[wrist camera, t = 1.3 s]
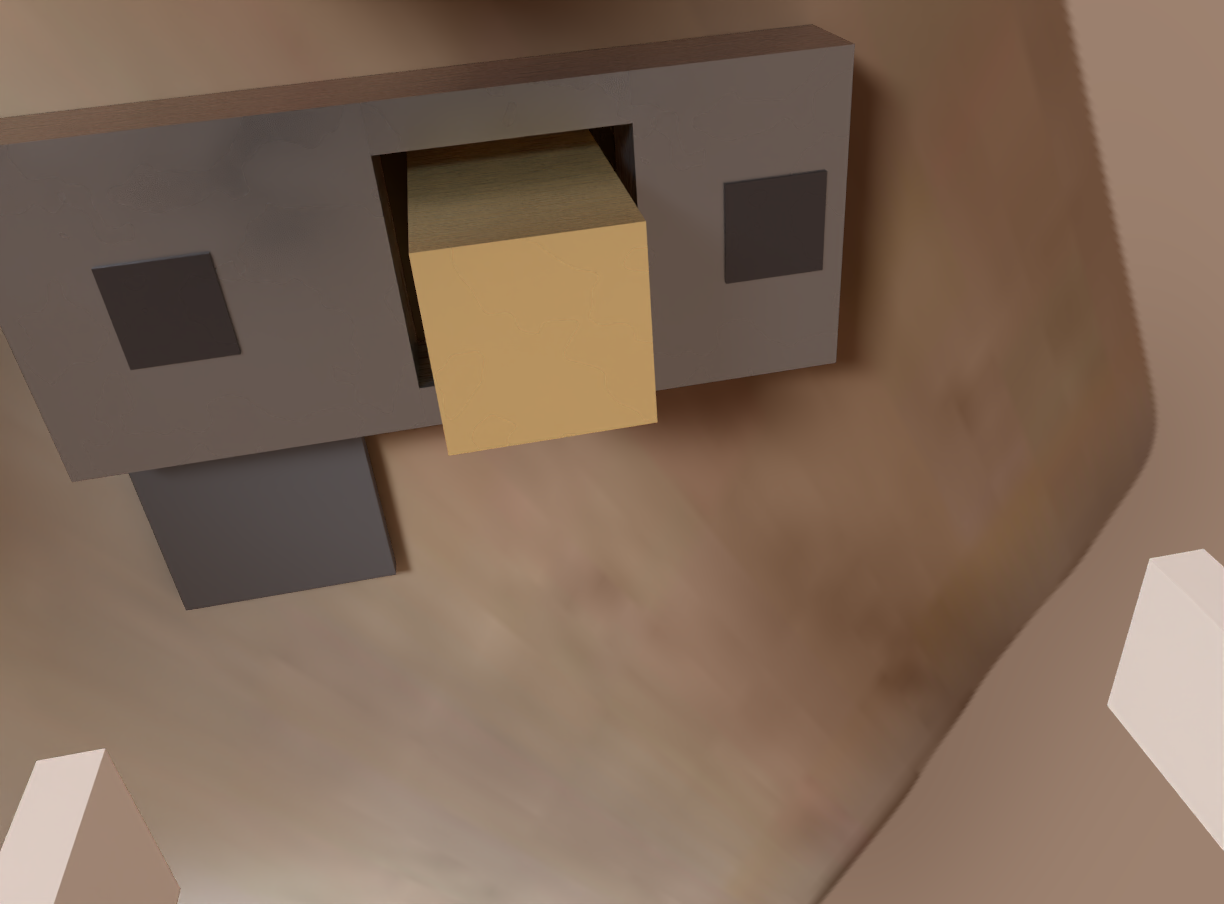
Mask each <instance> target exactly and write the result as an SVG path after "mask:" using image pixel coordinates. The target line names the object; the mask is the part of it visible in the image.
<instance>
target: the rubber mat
mask: <svg viewBox="0 0 1224 904" xmlns="http://www.w3.org/2000/svg"><path fill="white" fill-rule="evenodd" d="M129 475H130V478H131V480H132V482H133V485H134V487H135V490H136V492H137V494H138V497H139V499H140V502H141V504H142V506H143V509H144V511H145V514H146V516H147V518H148V521H149V523H150V525H151V528H152V530H153V533H154V535H155V537H156V540H157V542H158V545H159V547H160V549H161V552H162V554H163V557H164V559H165V561H166V564H167V566H168V568H169V571H170V573H171V576H172V578H173V580H174V583H175V585H176V588H177V590H178V592H179V595H180V597H181V600H182V602H183V604H184V607H185V609H186V610H192V609H198V608H204V607H210V606H215V605H221V604H227V603H233V602H239V601H244V600H250V599H256V598H262V597H268V596H273V595H279V594H285V593H291V592H297V591H302V590H308V589H314V588H320V587H326V586H331V585H337V584H343V583H349V582H355V581H360V580H366V579H372V578H378V577H384V576H390V575H395V574H396V561H395V557H394V553H393V549H392V545H391V541H390V537H389V533H388V529H387V525H386V522H385V518H384V514H383V510H382V506H381V502H380V498H379V494H378V490H377V486H376V482H375V478H374V474H373V470H372V466H371V462H370V458H369V454H368V450H367V446H366V442H365V438H364V436H363V437H357V438H350V439H344V440H337V441H331V442H324V443H318V444H312V445H305V446H299V447H292V448H286V449H280V450H273V451H267V452H260V453H254V454H248V455H241V456H235V457H228V458H222V459H216V460H209V461H203V462H196V463H190V464H183V465H177V466H171V467H164V468H158V469H151V470H145V471H139V472H132V473H129Z"/></svg>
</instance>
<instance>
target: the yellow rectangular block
mask: <svg viewBox="0 0 1224 904" xmlns="http://www.w3.org/2000/svg"><path fill="white" fill-rule="evenodd" d="M407 185H408V242H409V258H410V263H411V268H412V273H413V278H414V283H415V288H416V293H417V298H418V303H419V308H420V313H421V318H422V323H423V328H424V333H425V338H426V343H427V348H428V353H429V359H430V364H431V369H432V374H433V379H434V384H435V389H436V394H437V399H438V404H439V409H440V414H441V419H442V424H443V429H444V434H445V439H446V444H447V449H448V454H449V456H450V455H456V454H462V453H469V452H475V451H481V450H487V449H494V448H500V447H506V446H513V445H519V444H525V443H531V442H538V441H544V440H550V439H556V438H563V437H569V436H575V435H581V434H588V433H594V432H600V431H607V430H613V429H619V428H625V427H632V426H638V425H644V424H650V423H657V407H656V389H655V372H654V354H653V336H652V319H651V301H650V283H649V266H648V248H647V230H646V220H645V219H644V217H643V216H642V214H641V213H640V211H639V209H638V208H637V206H636V205H635V203H634V201H633V200H632V198H631V197H630V195H629V193H628V192H627V190H626V189H625V187H624V185H623V184H622V182H621V181H620V179H619V178H618V176H617V174H616V173H615V171H614V170H613V168H612V166H611V165H610V163H609V162H608V160H607V158H606V157H605V155H604V154H603V152H602V151H601V149H600V147H599V146H598V144H597V143H596V141H595V139H594V138H593V136H592V135H591V133H590V131H589V130H588V129H581V130H573V131H565V132H557V133H549V134H541V135H533V136H525V137H517V138H509V139H501V140H493V141H485V142H477V143H469V144H461V145H453V146H445V147H437V148H428V149H420V150H412V151H407Z"/></svg>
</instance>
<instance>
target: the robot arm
mask: <svg viewBox="0 0 1224 904" xmlns="http://www.w3.org/2000/svg"><path fill="white" fill-rule="evenodd" d="M1107 706H1108V707H1109V709H1110V710H1111V711H1112V712H1113V714H1114V715H1115V716H1116V717H1117V718H1118V720H1119V721H1120V722H1121V723H1122V725H1123V726H1124V727H1125V728H1126V730H1127V731H1128V732H1129V733H1130V735H1131V736H1132V737H1133V738H1134V740H1135V741H1136V742H1137V743H1138V745H1139V746H1140V747H1141V748H1142V750H1143V751H1144V752H1145V753H1146V755H1147V756H1148V757H1149V758H1150V760H1151V761H1152V762H1153V763H1154V765H1155V766H1156V767H1157V768H1158V770H1159V771H1160V772H1161V773H1162V775H1163V776H1164V777H1165V778H1166V780H1167V781H1168V782H1169V783H1170V785H1171V786H1172V787H1173V788H1174V790H1175V791H1176V792H1177V793H1178V795H1179V796H1180V797H1181V798H1182V800H1183V801H1184V802H1185V803H1186V805H1187V806H1188V807H1189V808H1190V810H1191V811H1192V812H1193V813H1194V814H1195V816H1196V817H1197V818H1198V820H1199V821H1200V822H1201V823H1202V824H1203V826H1204V827H1205V828H1206V830H1207V831H1208V832H1209V833H1210V835H1211V836H1212V837H1213V838H1214V840H1215V841H1216V842H1217V843H1218V845H1219V846H1220V847H1221V848H1222V850H1223V851H1224V567H1223V566H1222V565H1221V564H1220V563H1219V562H1218V561H1217V560H1216V559H1214V558H1213V557H1212V556H1211V555H1210V554H1209V553H1208V552H1207V551H1206V550H1204V549H1200V550H1195V551H1189V552H1183V553H1178V554H1172V555H1167V556H1161V557H1156V558H1150V559H1149V563H1148V566H1147V570H1146V573H1145V577H1144V580H1143V584H1142V587H1141V590H1140V594H1139V597H1138V601H1137V604H1136V607H1135V611H1134V614H1133V618H1132V621H1131V625H1130V628H1129V632H1128V635H1127V638H1126V642H1125V645H1124V649H1123V652H1122V656H1121V659H1120V663H1119V666H1118V670H1117V673H1116V677H1115V680H1114V683H1113V687H1112V690H1111V693H1110V697H1109V700H1108V704H1107ZM179 892H180V887H179V885H178V883H177V881H176V880H175V878H174V876H173V874H172V872H171V870H170V868H169V866H168V865H167V863H166V861H165V859H164V857H163V855H162V853H161V851H160V850H159V848H158V846H157V844H156V842H155V840H154V838H153V836H152V835H151V833H150V831H149V829H148V827H147V825H146V823H145V821H144V820H143V818H142V816H141V814H140V812H139V810H138V808H137V806H136V805H135V803H134V801H133V799H132V797H131V795H130V793H129V791H128V790H127V788H126V786H125V784H124V782H123V780H122V778H121V776H120V775H119V773H118V771H117V769H116V767H115V765H114V763H113V761H112V760H111V758H110V756H109V754H108V752H107V750H106V748H104V749H98V750H93V751H87V752H82V753H76V754H71V755H65V756H60V757H54V758H49V759H43V760H38V761H36V763H35V766H34V768H33V771H32V773H31V776H30V778H29V781H28V783H27V786H26V788H25V791H24V793H23V796H22V798H21V801H20V803H19V806H18V808H17V811H16V813H15V816H14V818H13V821H12V823H11V826H10V828H9V831H8V833H7V836H6V838H5V841H4V843H3V846H2V848H1V851H0V904H177V902H178V897H179Z"/></svg>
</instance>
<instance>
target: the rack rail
mask: <svg viewBox="0 0 1224 904" xmlns="http://www.w3.org/2000/svg"><path fill="white" fill-rule="evenodd" d="M854 47H855V44H853V43H851V42H849V41H847V40H845V39H843V38H841V37H838V36H836V35H834V34H832V33H830V32H828V31H826V30H823V29H821V28H819V27H817V26H815V25H813V24H812V25H803V26H795V27H786V28H777V29H769V30H760V31H751V32H743V33H734V34H725V35H717V36H708V37H699V38H691V39H682V40H673V41H665V42H656V43H647V44H639V45H630V46H621V47H613V48H604V49H595V50H587V51H578V52H569V53H561V54H552V55H543V56H535V57H526V58H517V59H509V60H500V61H491V62H483V63H474V64H465V65H457V66H448V67H439V68H431V69H422V70H413V71H405V72H396V73H387V74H379V75H370V76H361V77H353V78H344V79H335V80H327V81H318V82H309V83H301V84H292V85H283V86H275V87H266V88H257V89H249V90H240V91H231V92H223V93H214V94H205V95H197V96H188V97H179V98H171V99H162V100H153V101H145V102H136V103H127V104H119V105H110V106H101V107H93V108H84V109H75V110H67V111H58V112H49V113H41V114H32V115H23V116H15V117H6V118H0V326H1V328H2V330H3V333H4V335H5V337H6V339H7V341H8V343H9V346H10V348H11V350H12V352H13V354H14V357H15V359H16V361H17V363H18V365H19V367H20V370H21V372H22V374H23V376H24V378H25V380H26V383H27V385H28V387H29V389H30V391H31V394H32V396H33V398H34V400H35V402H36V404H37V407H38V409H39V411H40V413H41V415H42V417H43V420H44V422H45V424H46V426H47V428H48V430H49V433H50V435H51V437H52V439H53V441H54V444H55V446H56V448H57V450H58V452H59V454H60V457H61V459H62V461H63V463H64V465H65V467H66V470H67V472H68V474H69V476H70V478H71V481H72V482H75V481H81V480H87V479H94V478H100V477H107V476H113V475H119V474H126V473H132V472H139V471H145V470H151V469H158V468H164V467H171V466H177V465H183V464H190V463H196V462H203V461H209V460H216V459H222V458H228V457H235V456H241V455H248V454H254V453H260V452H267V451H273V450H280V449H286V448H292V447H299V446H305V445H312V444H318V443H324V442H331V441H337V440H344V439H350V438H357V437H363V436H369V435H376V434H382V433H389V432H395V431H401V430H408V429H414V428H421V427H427V426H433V425H440V424H442V419H441V414H440V409H439V404H438V399H437V394H436V389H435V384H434V379H433V374H432V369H431V364H430V359H429V353H428V348H427V343H426V341H420V342H418V341H417V336H416V331H415V326H414V321H413V316H412V311H411V307H410V302H409V297H408V292H407V287H406V282H405V277H404V272H403V267H402V262H401V257H400V252H399V248H398V243H397V238H396V233H395V228H394V223H393V218H392V213H391V208H390V203H389V198H388V194H387V189H386V184H385V179H384V174H383V169H382V164H381V159H380V154H388V153H396V152H404V151H412V150H420V149H428V148H437V147H445V146H453V145H461V144H469V143H477V142H485V141H493V140H501V139H509V138H517V137H525V136H533V135H541V134H549V133H557V132H565V131H573V130H581V129H589V128H597V127H605V126H613V129H614V143H615V157H616V171H617V176H618V178H619V179H620V181H621V182H622V184H623V185H624V187H625V189H626V190H627V192H628V193H629V195H630V197H631V198H632V200H633V201H634V203H635V205H636V206H637V208H638V209H639V211H640V213H641V214H642V216H643V217H644V219H645V220H646V230H647V248H648V266H649V283H650V301H651V319H652V336H653V354H654V372H655V389H656V391H658V390H664V389H671V388H677V387H683V386H690V385H696V384H703V383H709V382H715V381H722V380H728V379H735V378H741V377H747V376H754V375H760V374H767V373H773V372H779V371H786V370H792V369H799V368H805V367H811V366H818V365H824V364H831V363H836V354H837V337H838V320H839V303H840V286H841V269H842V252H843V235H844V218H845V201H846V184H847V167H848V150H849V132H850V115H851V98H852V81H853V64H854Z"/></svg>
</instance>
